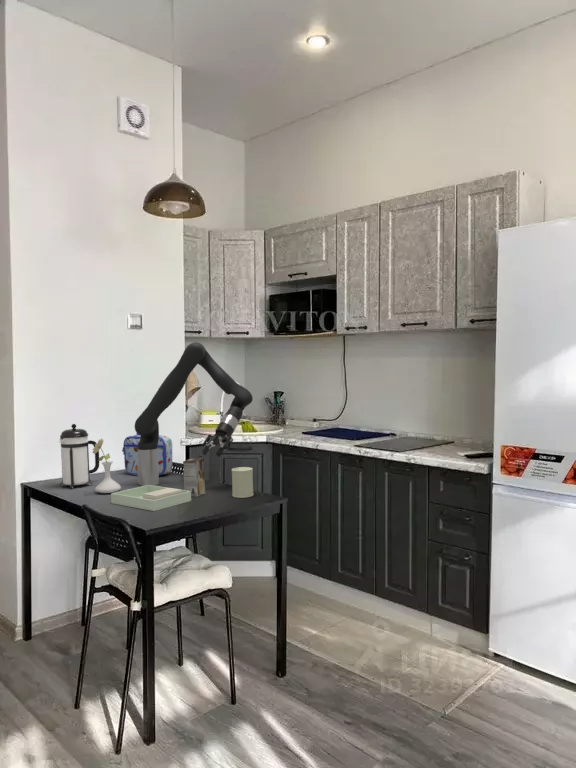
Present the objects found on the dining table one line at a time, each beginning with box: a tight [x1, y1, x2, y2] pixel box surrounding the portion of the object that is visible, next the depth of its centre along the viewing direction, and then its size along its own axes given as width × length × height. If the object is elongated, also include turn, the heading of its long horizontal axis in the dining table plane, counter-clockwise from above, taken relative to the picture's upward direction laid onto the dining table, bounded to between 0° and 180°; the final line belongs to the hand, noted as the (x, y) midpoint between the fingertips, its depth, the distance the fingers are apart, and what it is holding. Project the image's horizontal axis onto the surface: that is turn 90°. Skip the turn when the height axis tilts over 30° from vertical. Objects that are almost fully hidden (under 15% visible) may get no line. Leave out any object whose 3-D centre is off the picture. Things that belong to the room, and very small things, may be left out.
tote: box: [110, 485, 192, 512], centre depth 257 cm, size 26×20×5 cm
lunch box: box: [121, 432, 173, 476], centre depth 324 cm, size 28×10×22 cm, turn 68°
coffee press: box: [58, 423, 100, 489], centre depth 300 cm, size 17×16×30 cm
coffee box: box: [182, 457, 206, 497], centre depth 270 cm, size 9×6×16 cm
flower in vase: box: [92, 437, 122, 494], centre depth 282 cm, size 13×11×25 cm
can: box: [231, 466, 254, 499], centre depth 269 cm, size 9×9×12 cm
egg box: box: [142, 487, 182, 500], centre depth 253 cm, size 8×14×5 cm, turn 143°
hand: (210, 455), depth 278 cm, fingers open, 8 cm apart
